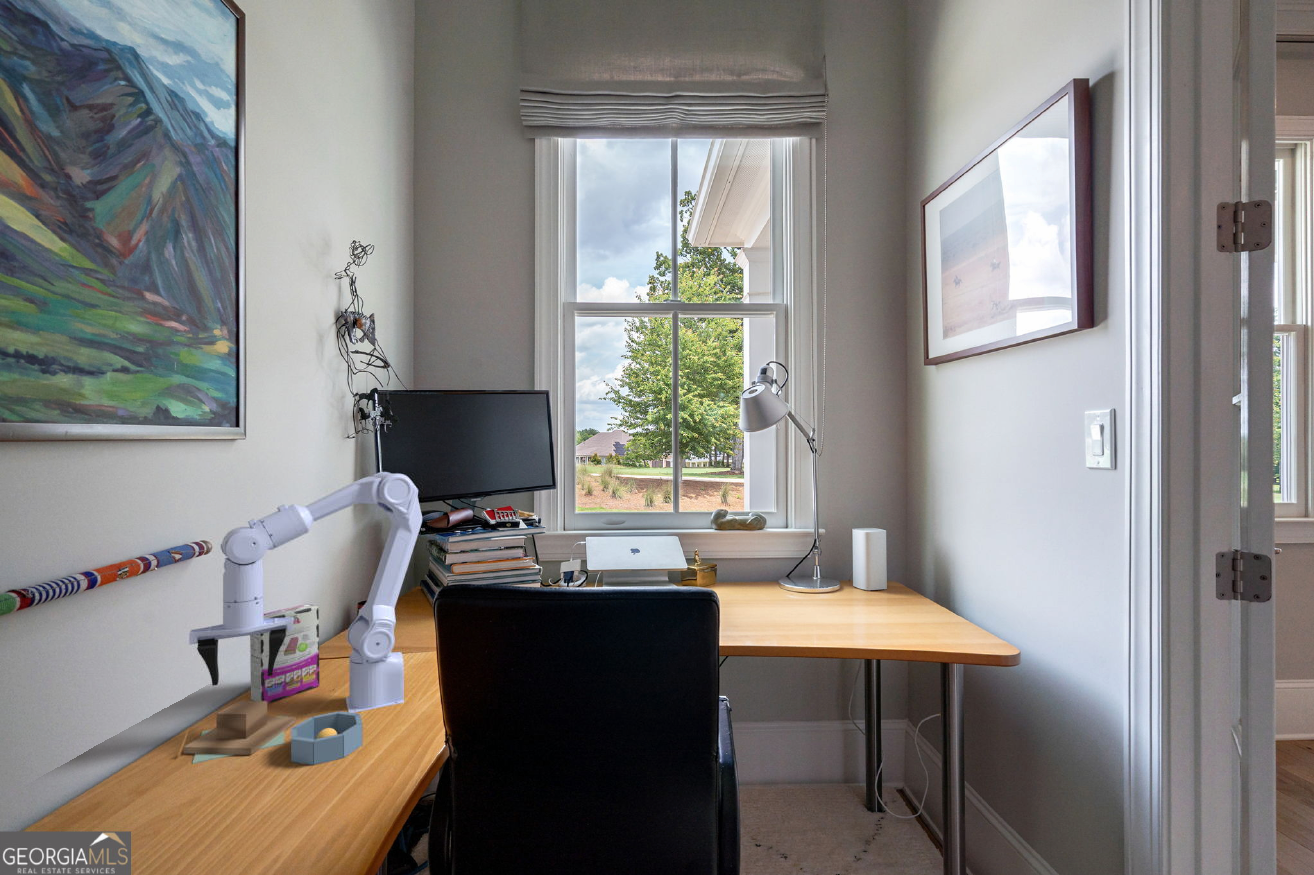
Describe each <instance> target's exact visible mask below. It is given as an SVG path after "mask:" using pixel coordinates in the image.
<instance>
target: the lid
mask: <svg viewBox="0 0 1314 875" xmlns="http://www.w3.org/2000/svg"><path fill="white" fill-rule="evenodd" d="M294 724H296V717H295V716H285V717H278V716H268V704H267V701H252V700H238V701H235V702H234V703H232V704H230V705H229V706H227V707H225V708H224V709H221V711H218V712H217V713H216V726H215V727H214V728H212V729H210V730H211V731H209V732H207V733H206V734H204V735H202V736H201V735H200V736H199V737H198V738H196V739H194V740H193V741H190V743H188V744H186V745H185V746H183V754H194V755H195V754H236V755H246V756H247V755H253V754H254V753H255V752H257V751H258V749H259V750H261V749H260V748H261V747H262V746H264V745H265V744H267V743H268V742H269V741H271V740H272V739H273V738H275V737H276V736H278V735H279V734H280V733H282V732H283V731H284V732H285V731H286V730H287V729H289V728H291V726H293V725H294Z"/></svg>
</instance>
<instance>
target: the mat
mask: <svg viewBox="0 0 1314 875" xmlns="http://www.w3.org/2000/svg"><path fill="white" fill-rule="evenodd" d="M277 717H286V716H285V714H284V715H279V716H277ZM211 730H212V729H209V730H208V729H207V730H203V731H201V734H200V737H201V736H202V735H204V734H206V733H207V732H209V731H211ZM281 745H285V731H283V732H282V733H280V734H279V735H278V736H276V737H275V738H273V739H272V740H271V741H269V742H268V743H267V744H265V745H264V746H262V747H261V748H260V749H258V750H263V749H267V748H272V747H279V746H281ZM258 750H257V751H258ZM236 755H237V754H194V756H193V760H192V764H193V765H194V764H198V763H203V762H208V761H212V760H216V759H217V760H218V759H221V758H222V759H223V758H228V757H230V756H236Z"/></svg>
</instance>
